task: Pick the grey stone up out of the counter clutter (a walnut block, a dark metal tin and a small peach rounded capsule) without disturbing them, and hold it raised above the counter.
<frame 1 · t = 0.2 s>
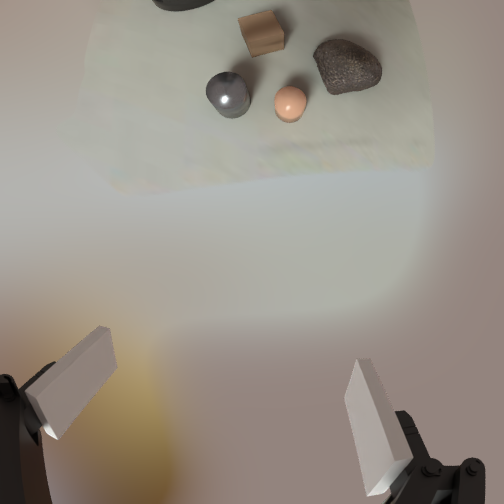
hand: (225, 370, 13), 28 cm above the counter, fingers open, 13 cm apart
stone: (343, 71, 33), on the counter
walnut block: (262, 41, 33), on the counter
metal tin: (232, 102, 36), on the counter
peach rounded capsule: (289, 109, 35), on the counter
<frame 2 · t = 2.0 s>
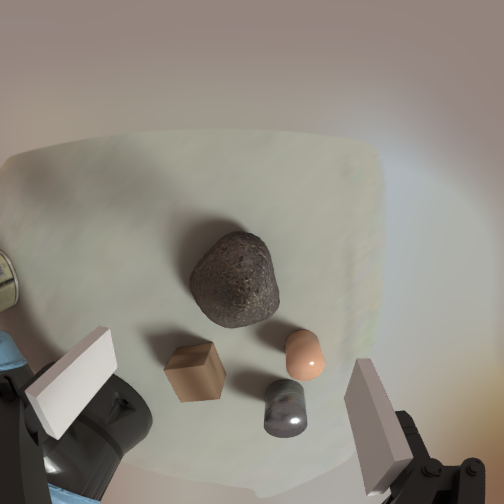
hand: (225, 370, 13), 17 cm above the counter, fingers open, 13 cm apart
stone: (237, 273, 30), on the counter
walnut block: (201, 361, 33), on the counter
metal tin: (285, 393, 33), on the counter
peach rounded capsule: (302, 344, 31), on the counter
coffee can: (5, 278, 34), on the counter
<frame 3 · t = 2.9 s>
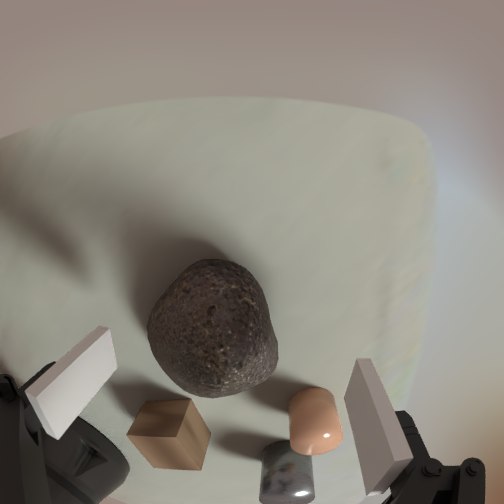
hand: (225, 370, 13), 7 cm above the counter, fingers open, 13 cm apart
stone: (216, 316, 20), on the counter
walnut block: (178, 417, 23), on the counter
metal tin: (286, 453, 23), on the counter
peach rounded capsule: (311, 403, 21), on the counter
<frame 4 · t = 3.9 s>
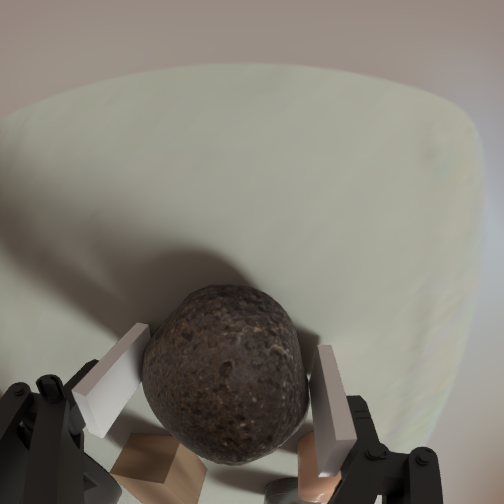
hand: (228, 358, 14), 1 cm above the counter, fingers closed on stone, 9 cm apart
stone: (229, 350, 15), on the counter, touching gripper
walnut block: (169, 452, 18), on the counter
metal tin: (292, 489, 18), on the counter
peach rounded capsule: (324, 443, 16), on the counter
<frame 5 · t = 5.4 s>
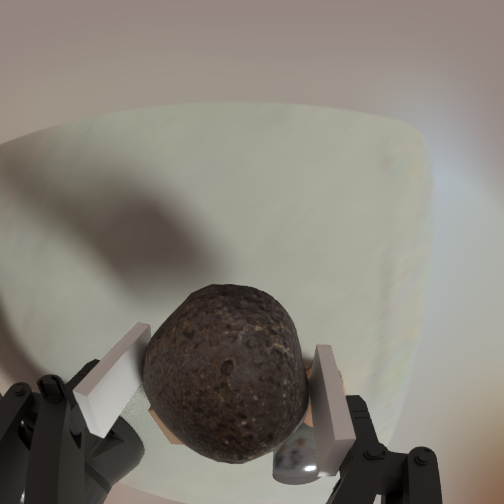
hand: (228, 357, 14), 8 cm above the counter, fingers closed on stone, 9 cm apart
stone: (229, 350, 15), point 7 cm above the counter, touching gripper
metal tin: (296, 432, 25), on the counter
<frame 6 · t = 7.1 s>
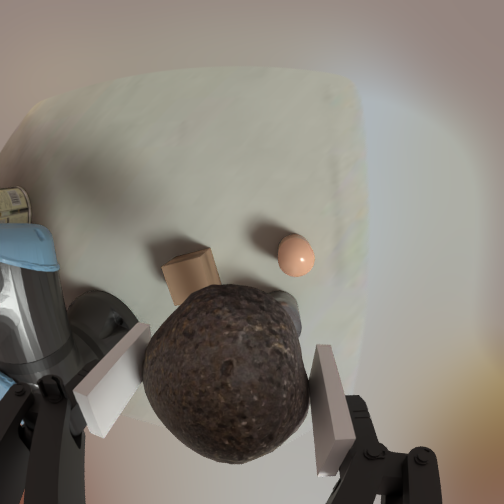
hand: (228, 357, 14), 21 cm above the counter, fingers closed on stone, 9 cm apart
stone: (229, 350, 15), point 20 cm above the counter, touching gripper
walnut block: (198, 270, 36), on the counter
metal tin: (279, 308, 36), on the counter
peach rounded capsule: (294, 250, 34), on the counter
coffee can: (18, 213, 38), on the counter
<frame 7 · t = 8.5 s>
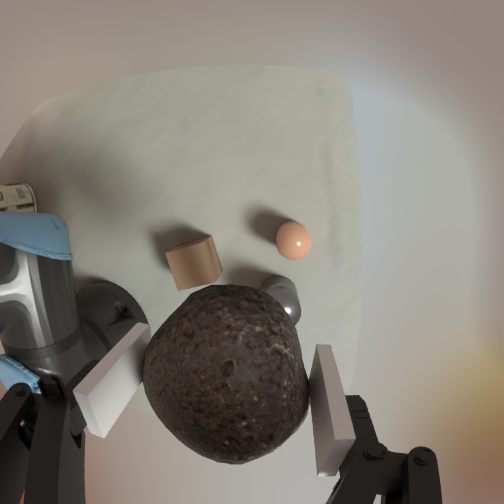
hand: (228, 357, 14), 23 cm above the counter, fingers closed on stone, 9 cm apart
stone: (229, 350, 15), point 22 cm above the counter, touching gripper
walnut block: (200, 257, 38), on the counter
metal tin: (278, 293, 38), on the counter
peach rounded capsule: (291, 236, 36), on the counter
coffee can: (24, 209, 40), on the counter
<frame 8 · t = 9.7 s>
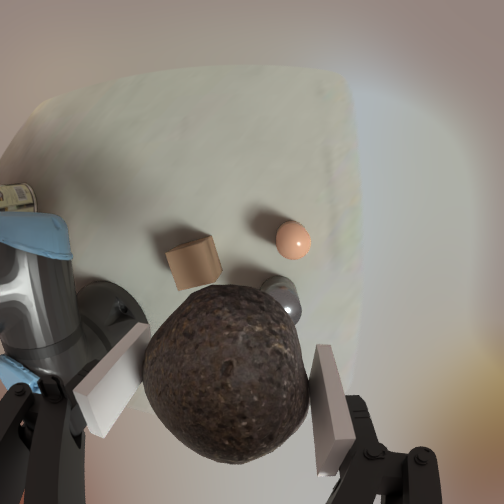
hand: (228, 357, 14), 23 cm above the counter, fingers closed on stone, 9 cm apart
stone: (229, 350, 15), point 22 cm above the counter, touching gripper
walnut block: (200, 257, 38), on the counter
metal tin: (278, 293, 38), on the counter
peach rounded capsule: (291, 236, 36), on the counter
coffee can: (24, 209, 40), on the counter
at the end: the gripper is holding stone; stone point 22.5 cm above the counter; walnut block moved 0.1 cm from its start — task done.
